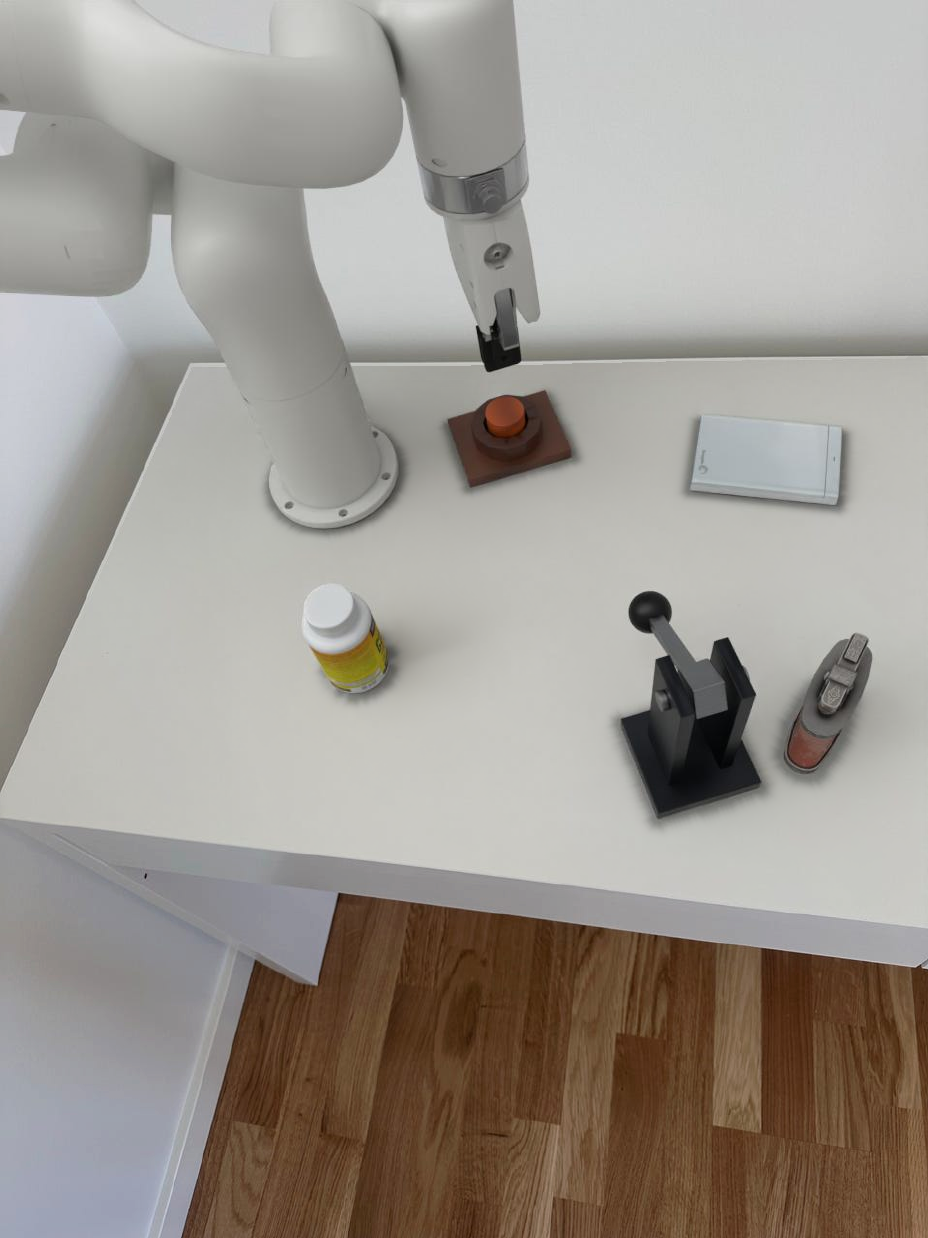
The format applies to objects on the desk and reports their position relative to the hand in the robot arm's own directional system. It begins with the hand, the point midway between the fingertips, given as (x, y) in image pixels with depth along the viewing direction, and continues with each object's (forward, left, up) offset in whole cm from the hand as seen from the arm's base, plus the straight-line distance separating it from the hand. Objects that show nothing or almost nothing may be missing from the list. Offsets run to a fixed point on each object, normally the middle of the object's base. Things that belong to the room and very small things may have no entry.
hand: (501, 361), depth 79 cm
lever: (+31, +4, -2) cm, 31 cm away
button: (0, 0, -8) cm, 8 cm away
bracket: (+35, +4, -10) cm, 37 cm away
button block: (0, 0, -10) cm, 10 cm away
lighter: (+36, +14, -11) cm, 40 cm away
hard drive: (+11, +21, -11) cm, 26 cm away
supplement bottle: (+19, -19, -11) cm, 29 cm away
